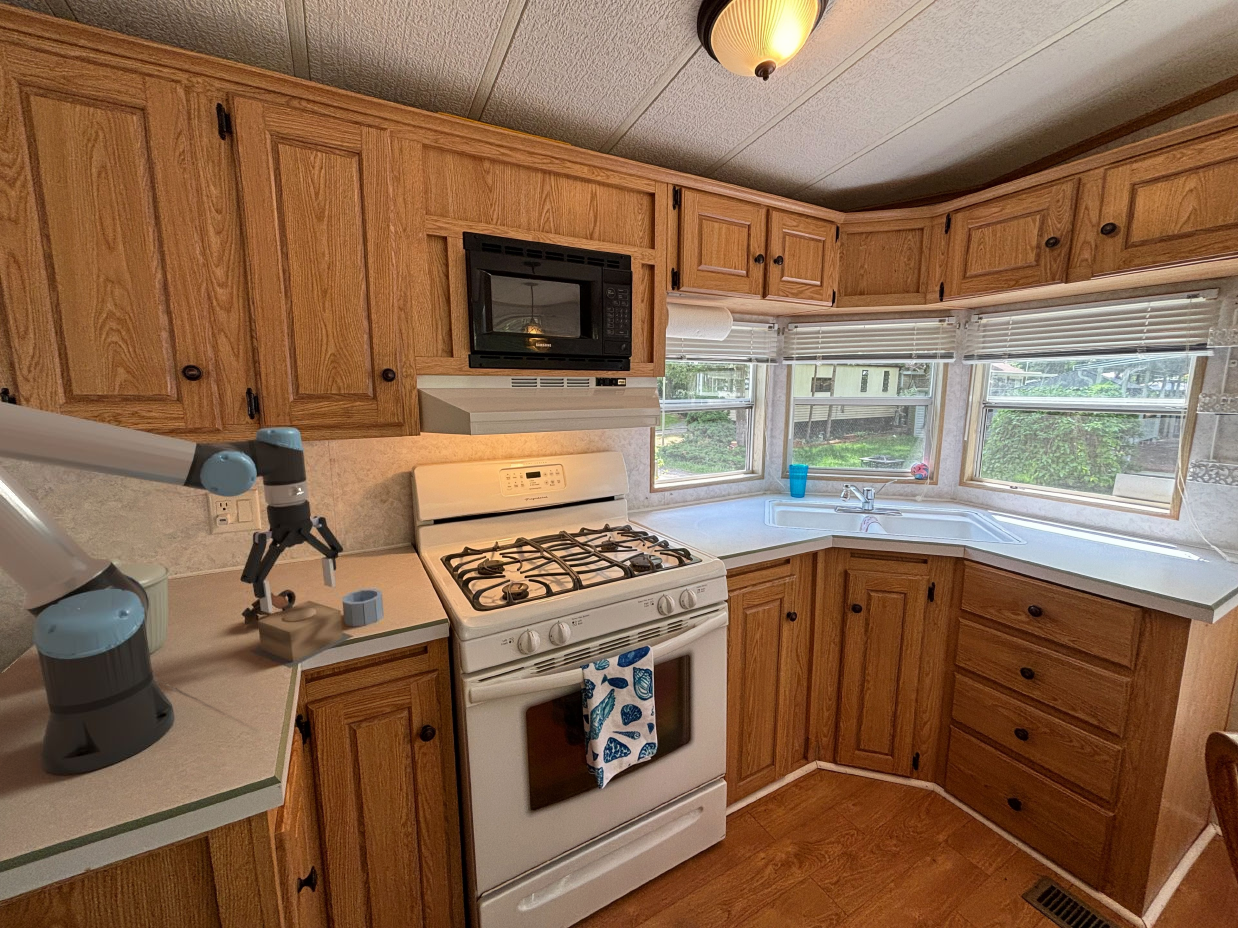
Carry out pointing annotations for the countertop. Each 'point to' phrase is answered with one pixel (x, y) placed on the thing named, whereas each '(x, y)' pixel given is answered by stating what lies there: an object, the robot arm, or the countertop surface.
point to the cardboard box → (300, 630)
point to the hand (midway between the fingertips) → (300, 597)
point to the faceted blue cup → (362, 607)
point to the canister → (151, 597)
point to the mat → (291, 664)
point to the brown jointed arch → (277, 601)
